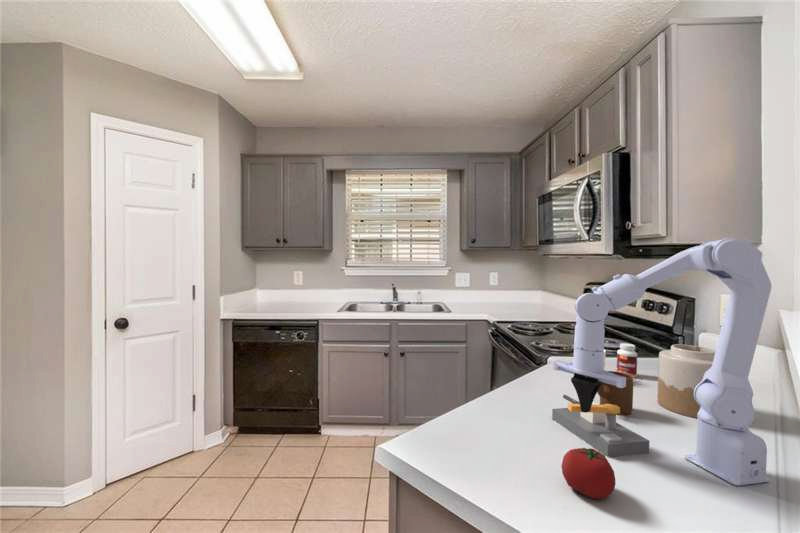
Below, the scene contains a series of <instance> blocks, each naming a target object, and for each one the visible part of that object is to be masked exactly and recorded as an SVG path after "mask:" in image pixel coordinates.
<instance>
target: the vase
mask: <svg viewBox="0 0 800 533" xmlns="http://www.w3.org/2000/svg"><path fill="white" fill-rule="evenodd" d="M715 352H716V349H714V348H713V349H712V348H709V347H705V346H701V345H700V346H699V345H698V346H697V345H690V344H678V343H677V344H672V345H671V346H670V349H664V350H661V351H659V353H658V368H657V369H658V372H657V374H658V375H657V403H658V404H659V405H660V406H661V407H662V408H664V409H665V410H668V411H670V412H673V413H676V414H679V415H681V416H685V417H690V418H694V419H697V413H698V412H699V410H700V405H699V404H698V403H697V402H696V400H695V398H694V389H695V387H696V386H697V385H698V384H699V383H700V382H701V381H702V379H703V377H704V373H705V372H706V371H707V370H709V369H710V368H711V367H712V364H713V360H714V356H715Z"/></svg>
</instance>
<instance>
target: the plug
mask: <svg viewBox="0 0 800 533" xmlns="http://www.w3.org/2000/svg"><path fill="white" fill-rule="evenodd" d="M562 398H563V399H564V400H566V401H568V402H570V404H580V402H579V400H578V401H577V400H576V399H574V398H572V397H570V396H568V395H567V394H563V396H562ZM592 404H597V405H600V403H597V402H592ZM580 416H581V417H583V418H584V419H586V420H588V421H589V422H591V423H605V417H606V413H591V412H587V413H585V412H580Z"/></svg>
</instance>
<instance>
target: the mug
mask: <svg viewBox="0 0 800 533" xmlns="http://www.w3.org/2000/svg"><path fill="white" fill-rule="evenodd" d="M607 371H608V372H611V373H613V374H616V375H619V376H623V377H626V387H624V388H619V387H616V386H615V385H611V384H608V383H604V382H603V384H602V386H601V387H600V389H599V390H598V392H597V395H598V396H599V405H604V404H612V405H616V406H618V407H619V408H620V413H618V414H617V415H623V416H624V415H625V416H627V415H630V414H632V413H633V408H634V406H633V405H634V404H633V403H634V378H633V377H632V376H630V375H628V374H625V373H621V372H616V371H613V370H607Z"/></svg>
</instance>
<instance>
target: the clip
mask: <svg viewBox="0 0 800 533" xmlns="http://www.w3.org/2000/svg"><path fill="white" fill-rule="evenodd" d="M567 404H568V405H567V408H568V409H569V410H570V411H571V412H582V411H581V407H580V404H573V403H567ZM597 404H598V403H597ZM597 404H592V405H591V409H590V411H589V412H591V413H609V414H616V415H619V414H618V413H620V408H619V407H618V406H616V405H612V404H604V405H600V404H599V405H597Z"/></svg>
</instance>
